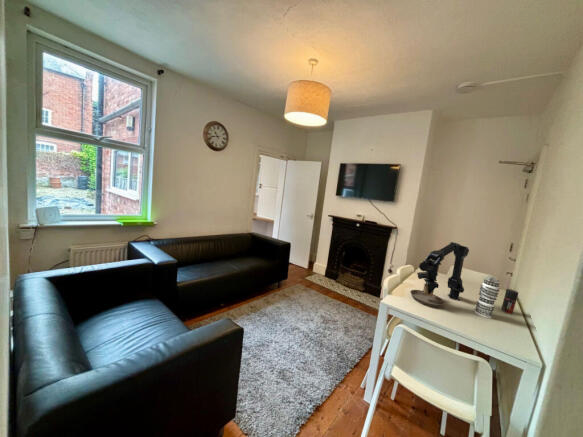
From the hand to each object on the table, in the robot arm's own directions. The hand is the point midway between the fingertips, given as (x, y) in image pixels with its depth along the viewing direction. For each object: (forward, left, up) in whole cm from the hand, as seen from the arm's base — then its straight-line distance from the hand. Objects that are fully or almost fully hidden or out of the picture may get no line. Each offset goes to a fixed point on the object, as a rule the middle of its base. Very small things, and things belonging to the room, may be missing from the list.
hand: (428, 292), depth 157 cm
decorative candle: (-2, +33, -6) cm, 34 cm away
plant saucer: (0, 0, -7) cm, 7 cm away
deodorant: (-19, +52, -6) cm, 56 cm away
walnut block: (0, 0, -1) cm, 1 cm away
